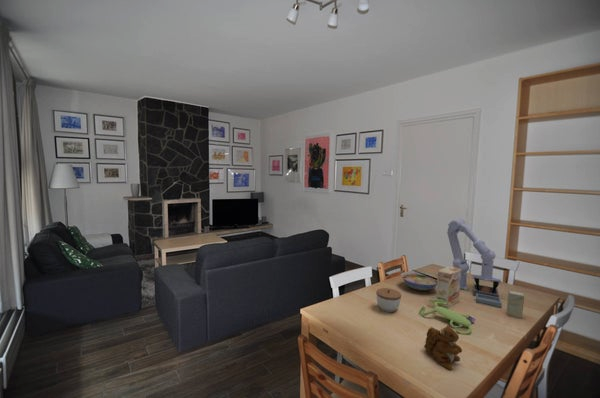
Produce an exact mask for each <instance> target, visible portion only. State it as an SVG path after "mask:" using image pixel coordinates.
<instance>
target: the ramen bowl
mask: <svg viewBox="0 0 600 398" xmlns="http://www.w3.org/2000/svg"><path fill="white" fill-rule="evenodd" d="M400 276H401V278H402V280H403V282H404V283H405V284H406V285H407V286H408V287H409V288H412V289H414V290H416V291H419V292H420V291H421V292H423V291H430V290H432V289H434V288H435V287H436V288H437V281H438V276H435V275H434V274H429V273H426V272H422V271H417V270H414V269H412V271H405V272H402V273H401V274H400Z"/></svg>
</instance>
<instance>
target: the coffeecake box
mask: <svg viewBox="0 0 600 398" xmlns="http://www.w3.org/2000/svg"><path fill="white" fill-rule="evenodd" d="M437 278H438V281H437V286H436V297H435V299H439V300H444V301H446V302H447V305H442V304H437V306H439V307H443V308H446V309H450V308H451V307H453V306H454V305H456V304H457V303H458V302H459V301H460V289H461V288H460V279H461V269H460V268H456V267H453V265H449V266H446V267H444V268H441V269H439V270H437ZM435 302H439V301H435Z"/></svg>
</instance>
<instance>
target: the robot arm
mask: <svg viewBox="0 0 600 398" xmlns="http://www.w3.org/2000/svg"><path fill="white" fill-rule="evenodd" d="M459 232H460V233H464V234H465V235H466V237H467V238H469V240H470V241H471V242H472V246H473V247H474V248H475V250H476V251H477V252H478V253H479V255H480V258H481V260H482V261H481V271H480V275H479V274H478V275H476V274H472V279H473V280H474V282H475V283H474V284H476V285H477V291H479V285H480V281H485V282H493V283H492V287H493V290H492V293H493V294H495V293H494V292H495V289H496V288H497V289H498V287H499V285H500V284H502V280H501V279H499V278H495V277H493V274H494V273H493V272H494V259H495V258H496V253H495V251H493V250H491V249H490V248H489V247H488V245H486V242H485V241H483V240H482V239H481V240H480V239H478V237H477V236H476V235H475V232H473V231H472V229H471V228H470V226H469V225H468V223H467V222H466V221H465V220H464V219H461V218H460V219H459V218H458V219H453V220H451V221H450V222H449V223H448V228H447V232H446V233H447V237H448V240H449V241H448V242H449V245H450V249H451V252H452V256H453V261H452V267H456V268H460V269H461V279H460V289H463V290H467V278H468V277H467V275H468V273H467V272H468V271H469V270H470V265H469V264H468V263H467V261H466V259H465V258H464V256H463V252H462V248H461V244H460V240H459V238H458V233H459Z"/></svg>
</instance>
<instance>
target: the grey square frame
mask: <svg viewBox="0 0 600 398" xmlns="http://www.w3.org/2000/svg"><path fill="white" fill-rule="evenodd" d="M472 286H473V288H472V291H473V292H472V295H473V297H476V293H479V294H484V295H489V296H494V297H499V298H500V294H499V291H498V290H499V289H498V287H497V288H496V289H495V292H494V294H493V293H492V290H493V286H488V285H484V284H479V291H477V285H476V283H473V285H472ZM484 286H485V287H488V288H489V289H490V293H488V292H482V291H481V288H482V287H484Z"/></svg>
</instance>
